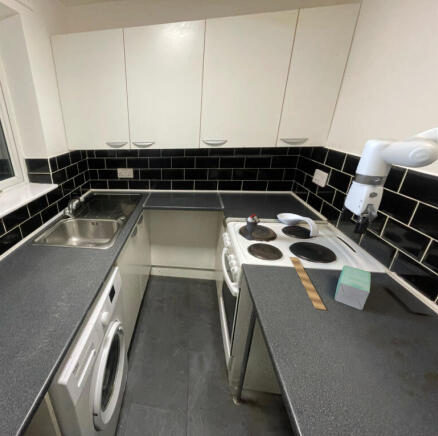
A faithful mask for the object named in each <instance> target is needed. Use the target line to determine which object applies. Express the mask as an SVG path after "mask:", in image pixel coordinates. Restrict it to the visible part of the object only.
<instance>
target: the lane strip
mask: <svg viewBox="0 0 438 436" xmlns="http://www.w3.org/2000/svg"><path fill="white" fill-rule="evenodd" d="M289 260H290V261H291V263H292V266H293V267H294V269H295V271H296V273H297V275H298V278H299V279H300V282H301V283H302V286H303V287H304V289H305V291H306V293H307V296H308V297H309V299H310V301H311V303H312V305H313V308H314V309H315V310H320V311H327V308H326V307H325V305H324V302H323V301H322V299H321V297H320V296H319V294H318V292H317V290H316V288H315V287H314V285H313V283H312V281H311V279H310V277H309V275H308V274H307V272H306V270H305V269H304V267H303V265H302V263H301V262H300V261H301V260H300V259H299V257H295V256H289Z"/></svg>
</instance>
